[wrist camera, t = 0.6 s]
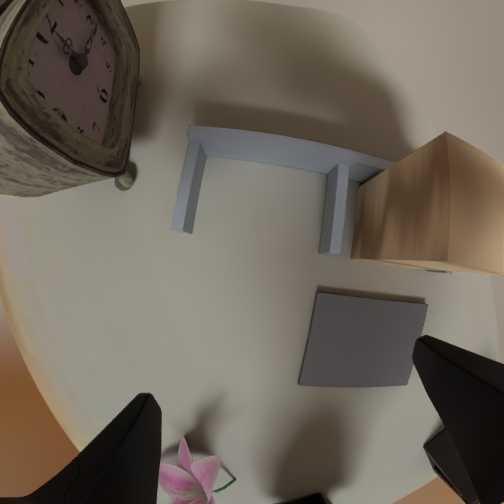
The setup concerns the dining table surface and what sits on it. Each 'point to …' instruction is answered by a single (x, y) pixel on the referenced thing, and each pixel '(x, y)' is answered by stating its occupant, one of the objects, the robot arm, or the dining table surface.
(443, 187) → the oak block
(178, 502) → the lily
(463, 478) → the phone stand
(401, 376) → the rubber mat
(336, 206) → the shelf
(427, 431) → the dining table surface
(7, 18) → the tabletop clock
